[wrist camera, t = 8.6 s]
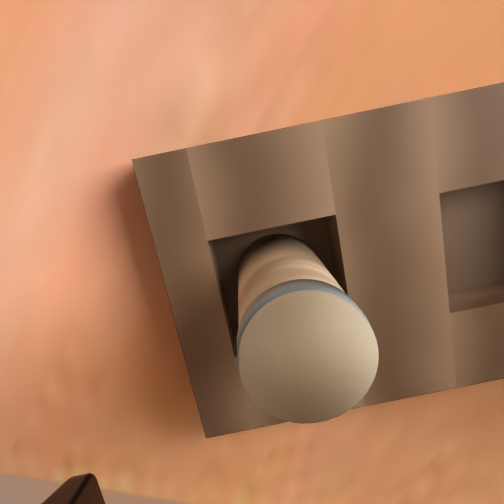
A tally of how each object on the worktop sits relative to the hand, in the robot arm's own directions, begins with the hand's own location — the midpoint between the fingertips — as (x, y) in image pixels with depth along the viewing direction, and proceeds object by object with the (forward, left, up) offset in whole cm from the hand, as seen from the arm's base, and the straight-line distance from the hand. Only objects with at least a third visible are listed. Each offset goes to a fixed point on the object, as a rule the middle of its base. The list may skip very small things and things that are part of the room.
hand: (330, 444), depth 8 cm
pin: (0, 0, -11) cm, 11 cm away
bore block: (-5, 0, -12) cm, 12 cm away
